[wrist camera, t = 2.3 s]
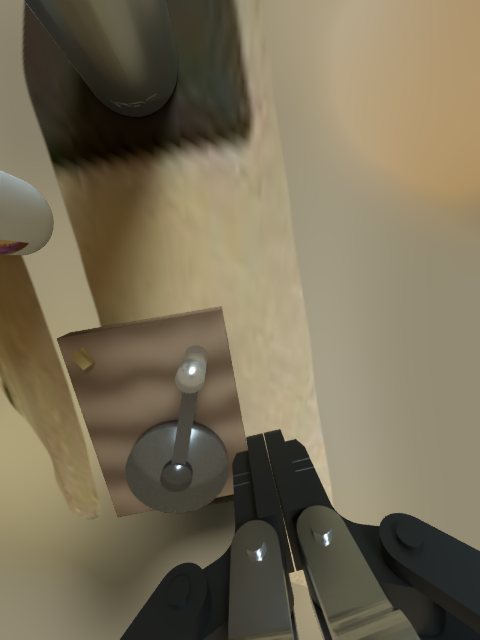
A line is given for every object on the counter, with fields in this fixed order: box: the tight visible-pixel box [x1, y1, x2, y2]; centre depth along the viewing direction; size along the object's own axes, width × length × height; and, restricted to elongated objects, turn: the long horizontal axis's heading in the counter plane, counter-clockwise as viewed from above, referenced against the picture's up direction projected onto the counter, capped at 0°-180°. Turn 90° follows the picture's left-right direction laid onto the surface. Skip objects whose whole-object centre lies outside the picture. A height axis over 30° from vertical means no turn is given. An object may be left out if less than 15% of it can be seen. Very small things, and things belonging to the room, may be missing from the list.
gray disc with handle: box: [125, 345, 228, 513], centre depth 26 cm, size 22×12×8 cm, turn 169°
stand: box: [57, 306, 248, 517], centre depth 31 cm, size 24×18×4 cm
